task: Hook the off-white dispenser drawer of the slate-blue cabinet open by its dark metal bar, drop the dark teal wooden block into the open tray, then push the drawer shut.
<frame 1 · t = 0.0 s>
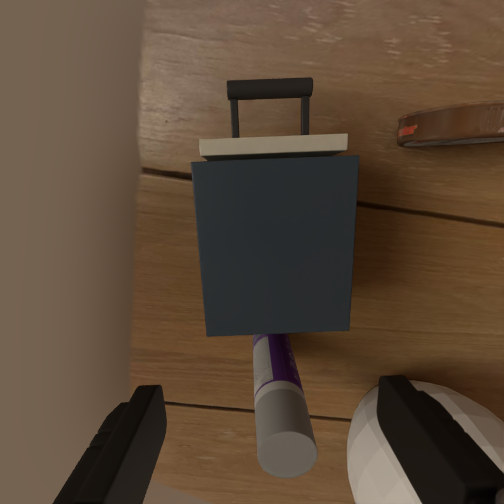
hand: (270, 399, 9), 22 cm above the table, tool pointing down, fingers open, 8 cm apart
drawer: (270, 193, 24), point 5 cm above the table, slide at 0.5 cm
tin: (448, 135, 28), on the table
container: (270, 338, 33), on the table
cabinet: (268, 233, 30), on the table
white handled vase: (390, 407, 36), on the table
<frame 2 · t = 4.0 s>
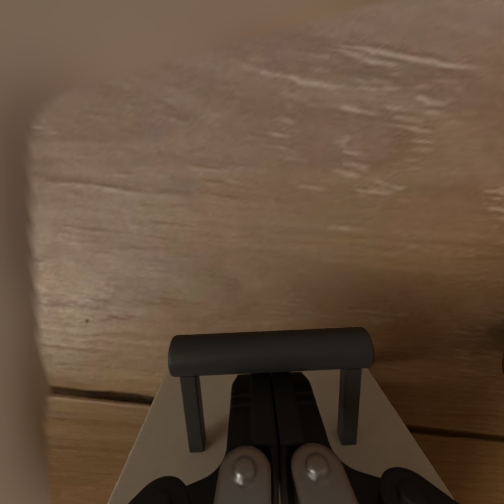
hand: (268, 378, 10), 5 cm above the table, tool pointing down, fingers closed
drawer: (272, 493, 12), point 5 cm above the table, slide at 1.3 cm, touching gripper
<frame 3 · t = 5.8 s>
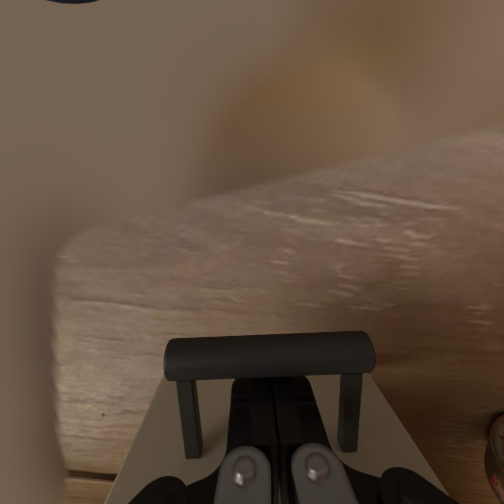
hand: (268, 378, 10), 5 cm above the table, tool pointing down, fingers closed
drawer: (270, 500, 12), point 5 cm above the table, slide at 7.9 cm, touching gripper
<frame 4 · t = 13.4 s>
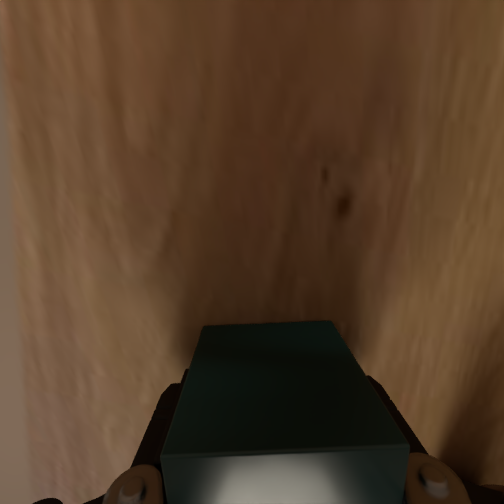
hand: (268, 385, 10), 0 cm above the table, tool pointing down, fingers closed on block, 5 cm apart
block: (268, 377, 10), on the table, touching gripper
when the fingers open (9 cm above the table, at t = 19.9 s): block drops 7 cm, resting on drawer.
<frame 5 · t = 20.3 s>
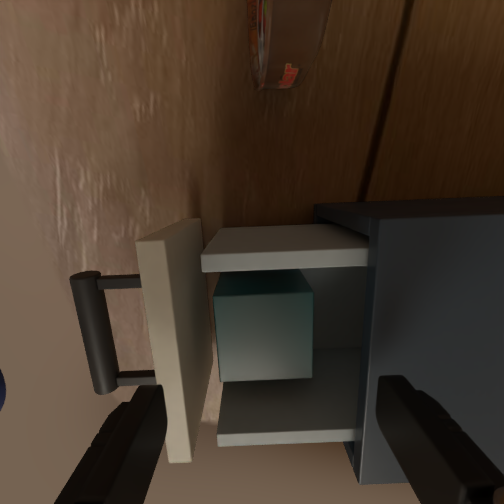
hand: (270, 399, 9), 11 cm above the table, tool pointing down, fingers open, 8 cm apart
drawer: (249, 318, 15), point 5 cm above the table, slide at 8.0 cm, touching block
block: (260, 298, 18), point 2 cm above the table, touching drawer
cabinet: (405, 281, 20), on the table
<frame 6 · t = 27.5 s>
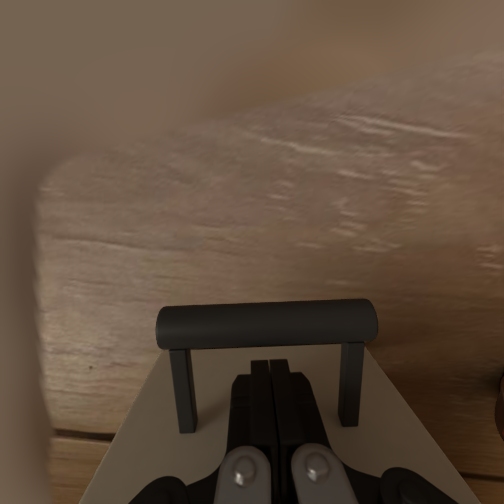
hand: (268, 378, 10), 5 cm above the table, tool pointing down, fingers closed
drawer: (268, 481, 12), point 5 cm above the table, slide at 5.6 cm, touching block, gripper
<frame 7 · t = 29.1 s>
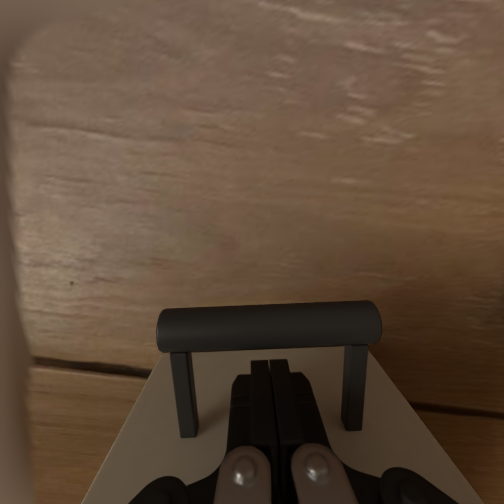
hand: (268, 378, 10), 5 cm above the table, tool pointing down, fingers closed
drawer: (270, 486, 11), point 5 cm above the table, slide at 0.0 cm, touching block, cabinet, gripper
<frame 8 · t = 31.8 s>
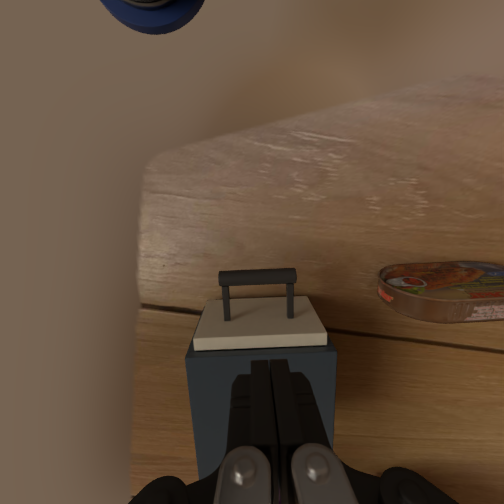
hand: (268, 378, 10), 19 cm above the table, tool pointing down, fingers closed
drawer: (259, 351, 26), point 5 cm above the table, slide at 0.0 cm, touching block, cabinet
tin: (426, 274, 30), on the table
cabinet: (259, 357, 32), on the table
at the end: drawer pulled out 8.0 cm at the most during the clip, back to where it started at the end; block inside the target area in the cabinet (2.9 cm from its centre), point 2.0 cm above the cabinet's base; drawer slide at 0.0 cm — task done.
